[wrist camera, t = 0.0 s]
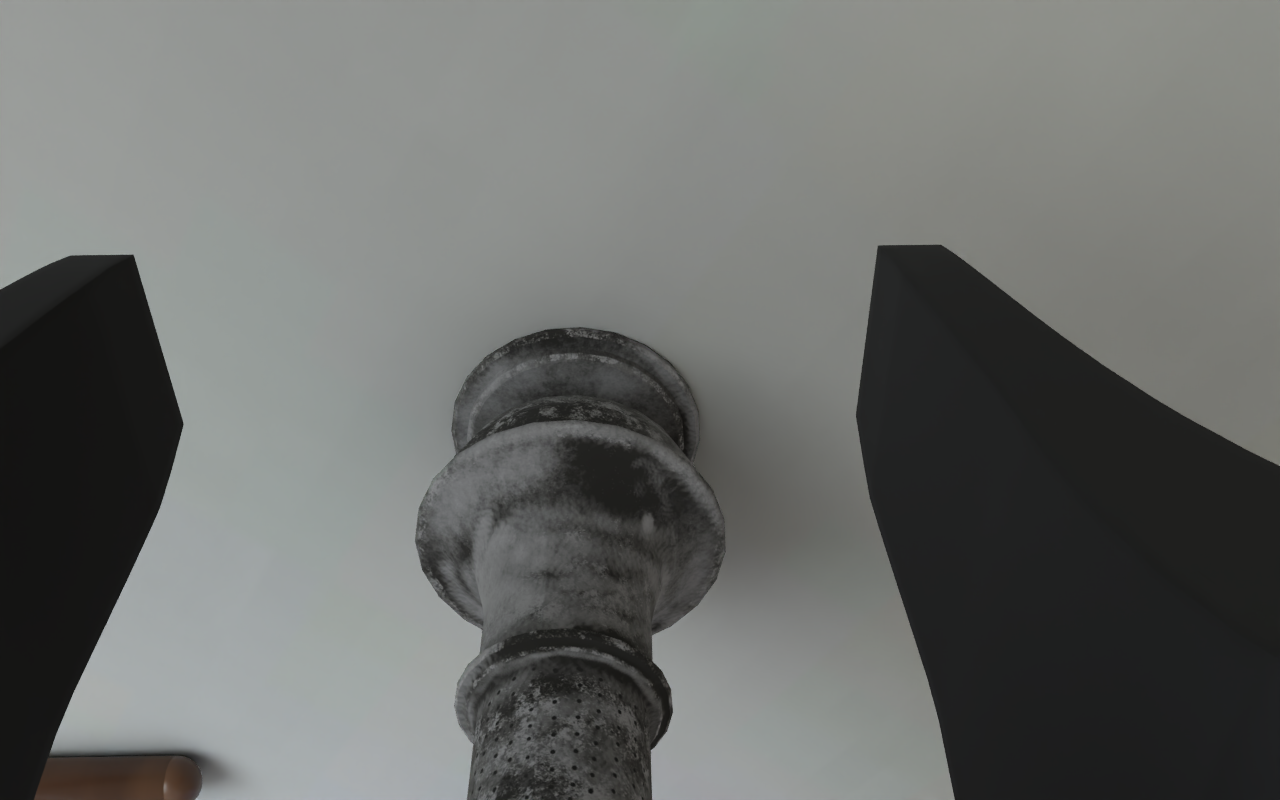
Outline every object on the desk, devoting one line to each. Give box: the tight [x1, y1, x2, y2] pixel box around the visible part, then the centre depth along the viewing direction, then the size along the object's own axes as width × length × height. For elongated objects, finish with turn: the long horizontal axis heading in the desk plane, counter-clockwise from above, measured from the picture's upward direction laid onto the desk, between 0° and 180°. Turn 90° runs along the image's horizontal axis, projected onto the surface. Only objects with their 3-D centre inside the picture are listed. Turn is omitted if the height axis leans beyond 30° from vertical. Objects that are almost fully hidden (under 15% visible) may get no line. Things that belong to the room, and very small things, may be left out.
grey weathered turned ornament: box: [415, 328, 725, 800], centre depth 20 cm, size 6×6×12 cm
